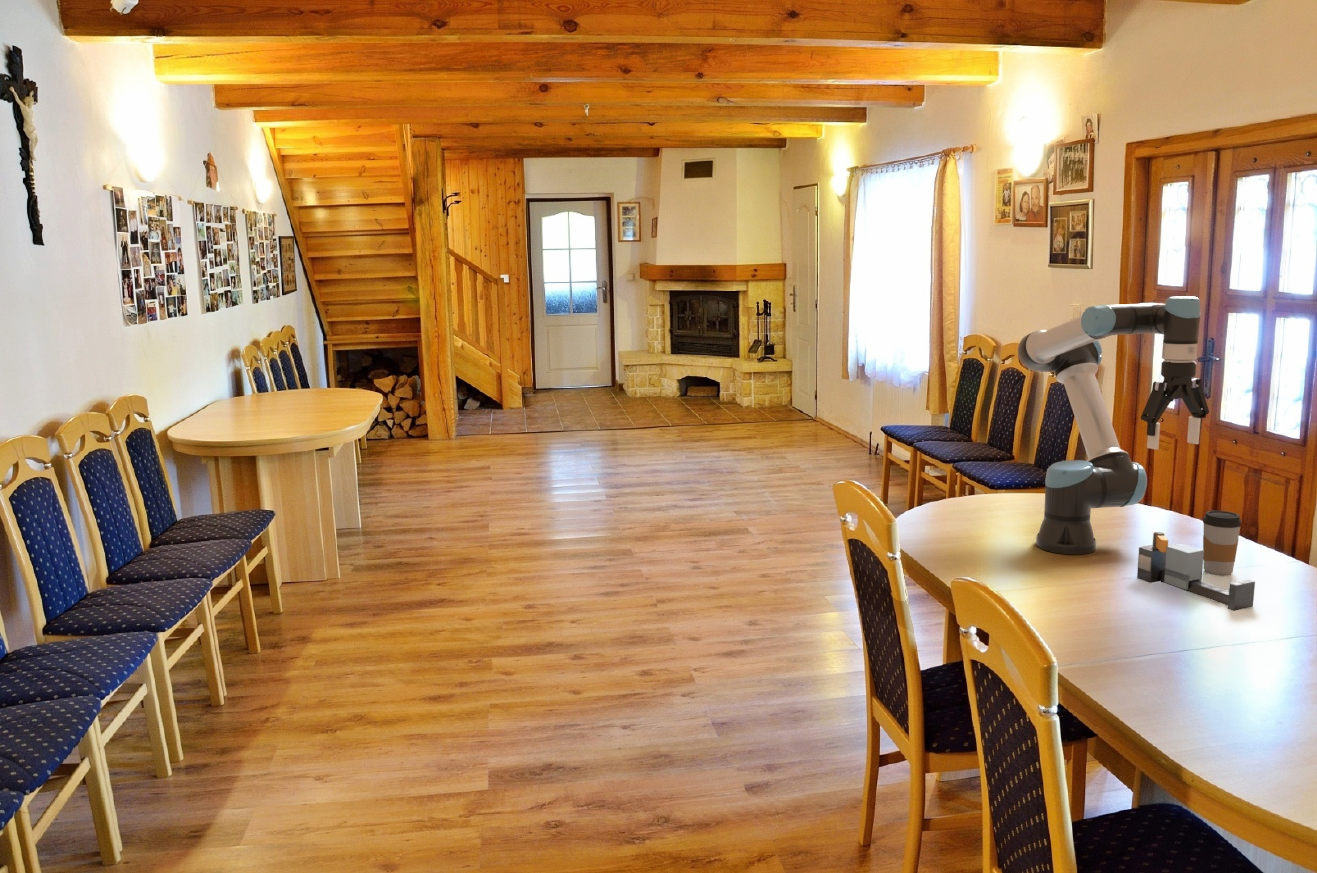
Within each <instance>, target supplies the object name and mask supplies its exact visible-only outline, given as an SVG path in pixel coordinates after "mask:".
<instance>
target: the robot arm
mask: <svg viewBox="0 0 1317 873" xmlns="http://www.w3.org/2000/svg"><path fill="white" fill-rule="evenodd" d="M1201 316H1202V313H1201V299H1200V298H1198V297H1196V296H1169V297H1167V298H1166V300H1165V303H1158V302H1152V301H1151V302H1140V303H1129V304H1126V303H1125V304H1098V305H1091V306H1088V307H1086V308H1085V309H1084V312H1082V314H1081V315H1080V316H1078V317H1075V318H1073V319H1071V320H1068V321H1066V322H1063V323H1061V324H1057V326H1054V327H1051V328H1049V329H1047V330H1046V329H1045V330H1044V329H1038V330H1035V331H1032V332H1031V333H1027V334H1026V335H1025V336H1024V337H1022V339H1021V340H1020V342H1018V346H1017V357H1018V359H1019V361H1020V363H1021V364H1022V365H1023V366H1024V367H1025V368H1027V369H1028V370H1031V371H1034V372H1039V373H1044V372H1045V373H1049V372H1050V373H1051V372H1053V373H1054V376H1055V378H1056V381H1057V383H1060V384H1062V385H1063V386H1064V388H1065V391H1066V395H1067V397H1068V400H1069V403H1070V407H1071V410H1072V412H1073V415H1074V420H1075V421H1076V425H1077V428H1078V431H1079V434H1080V437H1081V440H1082V443H1083V446H1084V448H1085V449H1084V450H1085V452H1086V455H1087V459H1086V460H1083V459H1076V460H1073V459H1068V460H1062V461H1061V460H1060V461H1057V462H1054V463H1052V464H1050V465H1049V466H1048V468H1047V469H1046V474H1045V480H1044V484H1045V486H1044V487H1045V488H1044V489H1045V491H1044V492H1045V493H1044V510H1043V511H1044V512H1043V513H1044V515H1043V520H1042V522H1041V524H1040V527H1039V532H1038V533H1037V535H1036V539H1035V544H1036V546H1037V548H1039V549H1041V550H1044V551H1046V552H1051V553H1055V554H1061V555H1062V554H1063V555H1087V554H1091V553H1093V552H1095V551H1096V547H1097V540H1096V538H1095V536H1094V532H1093V531H1094V530H1093V527H1092V523H1091V512H1092V511H1091V509H1104V508H1118V507H1119V508H1124V507H1127V506H1134V505H1136V504H1138V503H1139V502H1141V501H1142V500H1143V499H1144V496H1145V494H1146V491H1147V487H1148V476H1147V473H1146V470H1145V468H1144V467H1143V465H1141V464H1140V463H1138V462H1134V461H1132V460H1131V457H1130V455H1129V452H1127V451H1125V450H1123V449H1122V448H1121V445H1120V444H1119V440H1118V437H1117V434H1116V432H1115V429H1114V426H1113V423H1112V420H1111V418H1110V414H1109V412H1108V409H1107V406H1106V403H1105V399H1104V397H1103V394H1102V391H1101V388H1100V384H1099V383H1098V380H1097V377H1096V374H1097V372H1098V371H1099V368H1100V367H1099V366H1100V364H1101V362H1102V358H1103V356H1102V353H1103V348H1102V345H1101V343H1100V341H1099V340H1102V339H1105V338H1108V337H1110V336H1119V335H1120V336H1121V335H1140V334H1141V335H1142V334H1143V335H1144V334H1156V335H1157V334H1158V335H1163V340H1162V351H1161V359H1163V360H1162V362H1161V368H1160V369H1161V370H1160V375H1161V376H1162V377H1163V381H1161V382H1160V381H1153V383H1152V388H1151V391H1150V394H1149V397H1148V399H1147V401H1146V403H1145V405H1144V408H1143V410H1142V413H1141V415H1140V419H1141V420H1142V421H1144V422H1146V423H1147V424H1146V435H1147V444H1146V448H1147V449H1152V450H1156V451H1157V450H1159V444H1160V434H1161V433H1160V432H1161V423H1160V422H1159V420H1160V419H1161V418H1162V416H1163V414H1164V413H1165V411H1166V410H1167V408H1168V407H1169V406H1170V404H1171V402H1174V400H1178V399H1182V401H1183V402H1184V404H1185V406H1186V408H1187V409H1188V411H1189V413H1190V414H1191V416H1188V427H1187V437H1186V438H1187V439H1186V441H1187V443H1188V444H1192V445H1193V444H1195V445H1199V444H1200V434H1201V432H1200V431H1201V429H1202V420H1203V419H1205V418H1207V415H1209V413H1210V410H1209V406H1208V404H1207V400H1206V396H1205V393H1204V390H1203V381H1202V380H1203V379H1202V378H1197V377H1196V375H1197V374H1196V373H1197V372H1196V371H1197V362H1196V361H1195V360H1197V356H1198V355H1197V354H1198V343H1199V341H1198V340H1199V333H1200V332H1199V331H1200V323H1201V322H1200V321H1201ZM1195 377H1196V378H1195Z"/></svg>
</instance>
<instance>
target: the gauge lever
mask: <svg viewBox="0 0 1317 873" xmlns="http://www.w3.org/2000/svg"><path fill="white" fill-rule="evenodd" d="M1152 536H1153V537H1152V545H1153V546H1154V547H1156V548H1157V549H1158V550H1159V551H1160V552H1167V546H1168V544H1169V539H1168V538H1167V537H1166V536H1165V533H1164V532H1161V531H1155V532H1153V534H1152Z"/></svg>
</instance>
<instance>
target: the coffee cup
mask: <svg viewBox="0 0 1317 873" xmlns="http://www.w3.org/2000/svg"><path fill="white" fill-rule="evenodd" d="M1202 523H1203V535H1202V536H1203V537H1202V550H1204V557H1203V570H1204V572H1205V573H1206V574H1208V575H1211V576H1216V577H1229V576H1231V575H1232V574H1233V573H1234V567H1235V562H1236V557H1237V551H1238V545H1239V536H1240V529H1241V527H1242V520H1241V518H1240V514H1238V513H1236V512H1232V511H1225V510H1207V511H1206V512H1205V514H1204V515H1203V520H1202Z"/></svg>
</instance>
